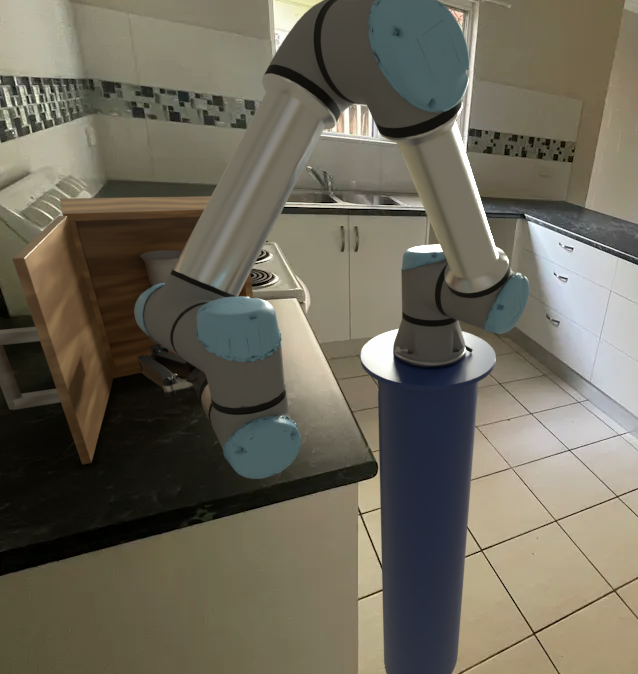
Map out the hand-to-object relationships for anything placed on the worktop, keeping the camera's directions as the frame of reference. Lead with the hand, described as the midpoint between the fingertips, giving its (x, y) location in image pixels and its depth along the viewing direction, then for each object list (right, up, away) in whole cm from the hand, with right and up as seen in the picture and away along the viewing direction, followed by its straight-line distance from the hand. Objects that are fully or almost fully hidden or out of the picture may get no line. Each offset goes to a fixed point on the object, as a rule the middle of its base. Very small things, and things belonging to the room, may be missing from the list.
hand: (197, 333), depth 77 cm
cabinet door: (-14, -13, -6) cm, 20 cm away
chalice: (-14, -2, +17) cm, 22 cm away
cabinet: (-14, -3, +17) cm, 23 cm away
